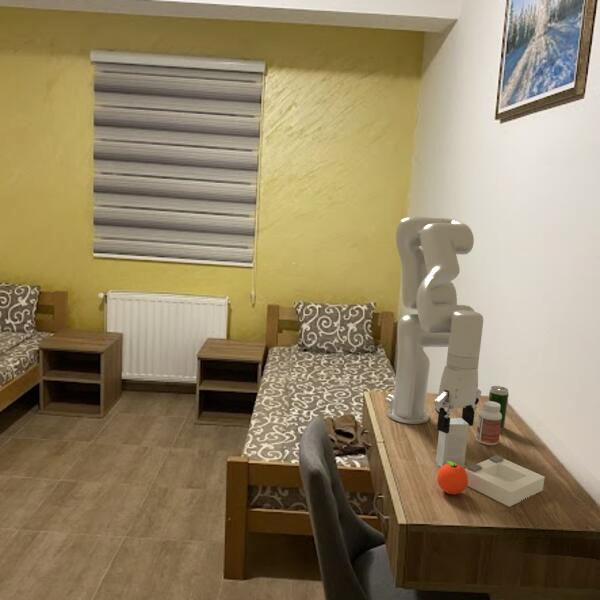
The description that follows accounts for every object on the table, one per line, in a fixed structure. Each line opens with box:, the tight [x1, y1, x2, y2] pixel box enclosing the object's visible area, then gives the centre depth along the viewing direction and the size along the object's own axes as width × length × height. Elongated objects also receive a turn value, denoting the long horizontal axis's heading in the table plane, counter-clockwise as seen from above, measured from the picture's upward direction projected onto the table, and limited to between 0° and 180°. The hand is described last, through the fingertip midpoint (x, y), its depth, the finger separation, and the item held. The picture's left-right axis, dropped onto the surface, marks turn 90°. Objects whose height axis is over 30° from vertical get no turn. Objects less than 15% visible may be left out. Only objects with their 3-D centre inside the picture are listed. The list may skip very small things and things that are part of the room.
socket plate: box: [464, 454, 546, 507], centre depth 149 cm, size 13×14×4 cm
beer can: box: [487, 385, 510, 431], centre depth 185 cm, size 5×5×12 cm
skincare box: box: [435, 417, 470, 469], centre depth 158 cm, size 6×4×12 cm
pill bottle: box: [475, 400, 502, 446], centre depth 175 cm, size 6×6×11 cm
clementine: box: [436, 461, 468, 495], centre depth 145 cm, size 8×7×7 cm
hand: (455, 427), depth 156 cm, fingers open, 9 cm apart
